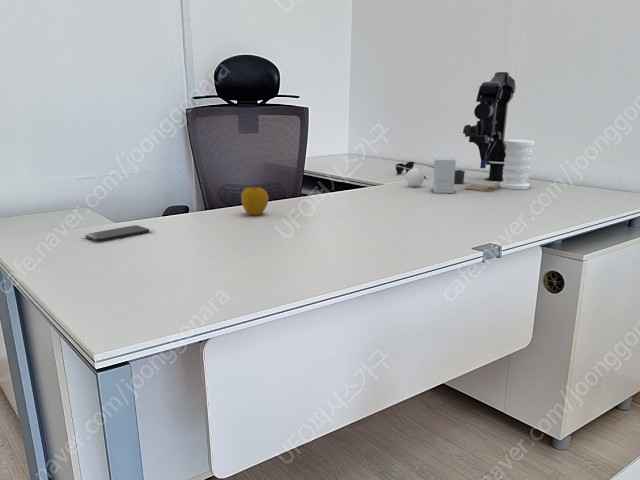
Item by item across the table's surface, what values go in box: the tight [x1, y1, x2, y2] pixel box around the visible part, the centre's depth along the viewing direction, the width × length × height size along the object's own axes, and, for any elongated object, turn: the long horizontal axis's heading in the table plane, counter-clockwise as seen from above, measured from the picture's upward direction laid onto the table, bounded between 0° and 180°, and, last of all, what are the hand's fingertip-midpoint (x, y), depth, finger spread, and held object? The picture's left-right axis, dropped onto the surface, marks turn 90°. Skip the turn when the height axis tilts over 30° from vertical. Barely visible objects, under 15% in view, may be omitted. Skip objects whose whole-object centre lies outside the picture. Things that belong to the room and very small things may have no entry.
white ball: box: [405, 167, 425, 187], centre depth 238 cm, size 10×7×7 cm
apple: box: [240, 186, 270, 217], centre depth 188 cm, size 9×8×9 cm
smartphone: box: [84, 224, 150, 242], centre depth 164 cm, size 8×1×16 cm
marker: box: [479, 155, 487, 169], centre depth 228 cm, size 2×2×9 cm
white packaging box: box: [432, 156, 457, 194], centre depth 226 cm, size 7×7×13 cm
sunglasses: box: [394, 161, 434, 180], centre depth 265 cm, size 14×16×5 cm
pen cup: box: [454, 169, 465, 185], centre depth 246 cm, size 5×5×5 cm
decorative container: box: [499, 138, 535, 190], centre depth 235 cm, size 12×12×18 cm
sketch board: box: [465, 184, 500, 193], centre depth 234 cm, size 10×10×1 cm
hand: (483, 160), depth 229 cm, fingers closed on marker, 2 cm apart
